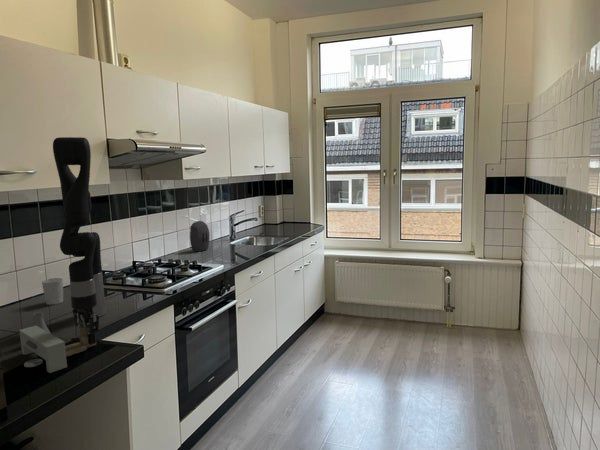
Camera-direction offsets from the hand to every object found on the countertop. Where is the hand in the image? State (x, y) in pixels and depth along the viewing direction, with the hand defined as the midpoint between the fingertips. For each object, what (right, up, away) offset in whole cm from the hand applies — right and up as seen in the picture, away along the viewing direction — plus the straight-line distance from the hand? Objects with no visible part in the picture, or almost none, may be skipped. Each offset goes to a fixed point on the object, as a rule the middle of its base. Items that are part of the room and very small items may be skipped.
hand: (88, 341), depth 155 cm
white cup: (-36, +5, +48) cm, 60 cm away
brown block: (-3, -2, -3) cm, 4 cm away
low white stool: (-9, -3, -10) cm, 14 cm away
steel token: (-11, -4, -12) cm, 17 cm away
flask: (-18, -1, +5) cm, 19 cm away
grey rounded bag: (+6, +22, +151) cm, 153 cm away
